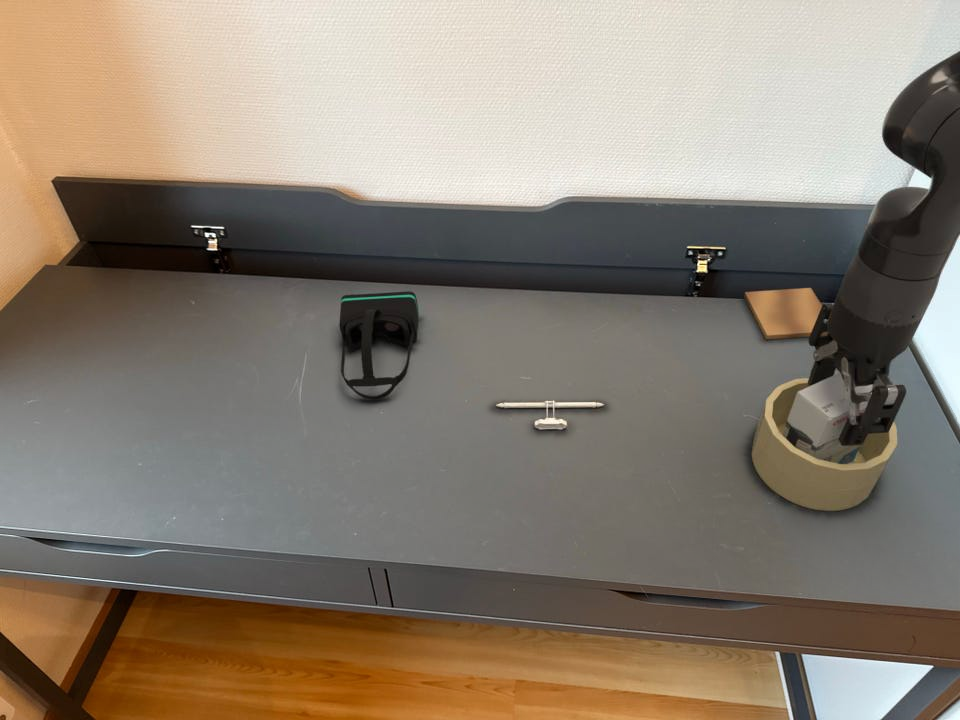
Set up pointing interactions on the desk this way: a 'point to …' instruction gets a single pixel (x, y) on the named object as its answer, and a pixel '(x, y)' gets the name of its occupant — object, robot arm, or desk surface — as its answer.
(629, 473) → the desk surface
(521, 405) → the picture light
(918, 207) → the robot arm
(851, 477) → the pot
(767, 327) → the plate
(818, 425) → the ink box
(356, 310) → the virtual reality headset
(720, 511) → the desk surface
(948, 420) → the desk surface
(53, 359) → the desk surface
